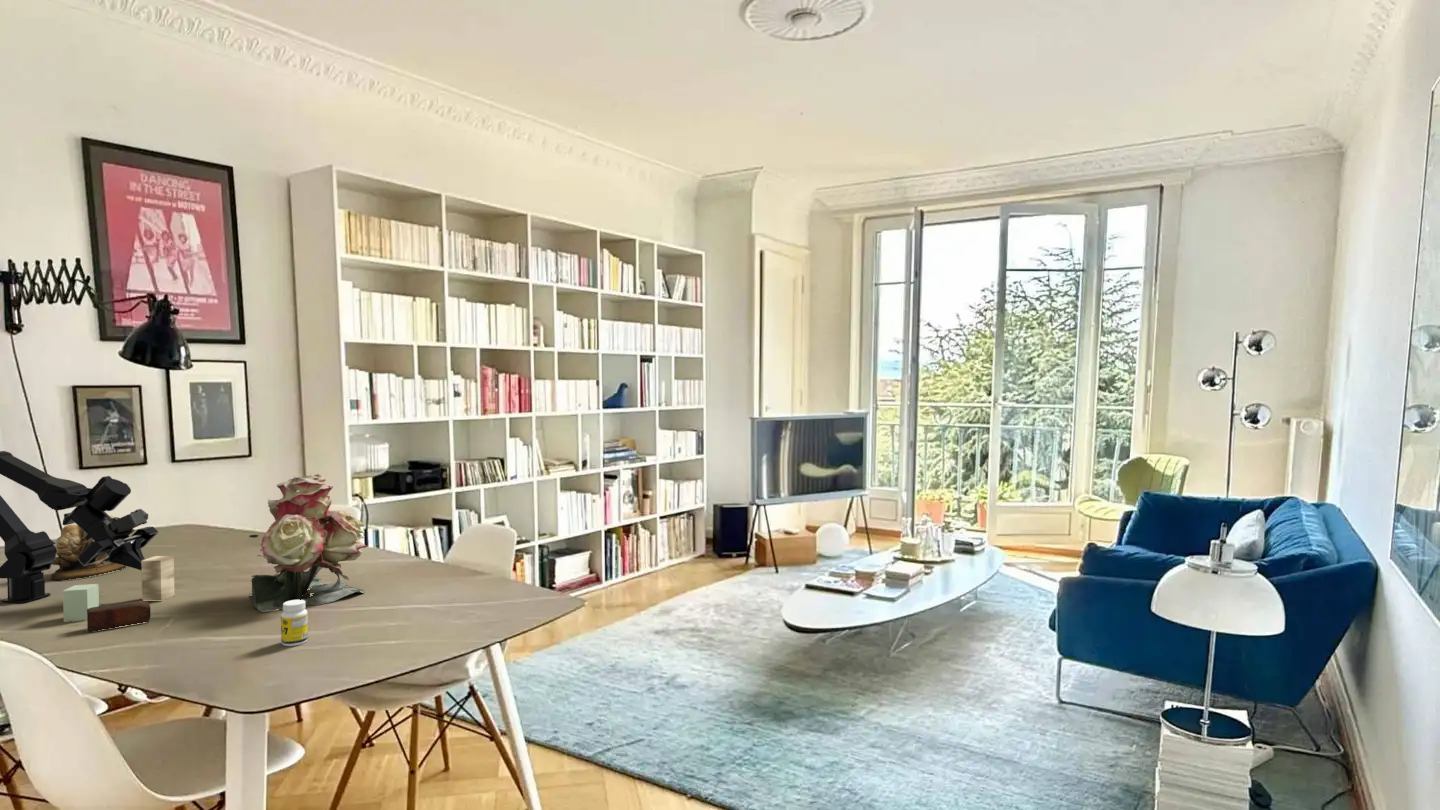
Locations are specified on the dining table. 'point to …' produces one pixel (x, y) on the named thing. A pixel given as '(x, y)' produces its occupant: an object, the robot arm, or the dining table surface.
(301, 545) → the rose bouquet
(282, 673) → the dining table surface
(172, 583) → the maple block
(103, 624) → the brick
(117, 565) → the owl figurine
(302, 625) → the supplement bottle
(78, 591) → the sage block
